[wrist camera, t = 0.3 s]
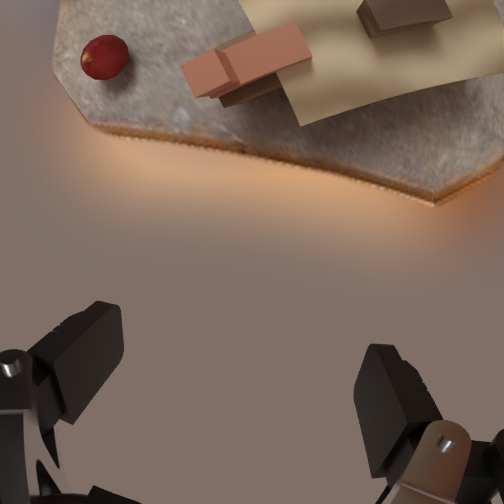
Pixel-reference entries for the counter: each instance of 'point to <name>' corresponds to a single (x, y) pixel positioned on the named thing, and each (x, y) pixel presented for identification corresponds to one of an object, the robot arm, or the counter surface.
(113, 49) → the onion
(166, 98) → the counter surface
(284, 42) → the l-shaped block
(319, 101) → the lid
